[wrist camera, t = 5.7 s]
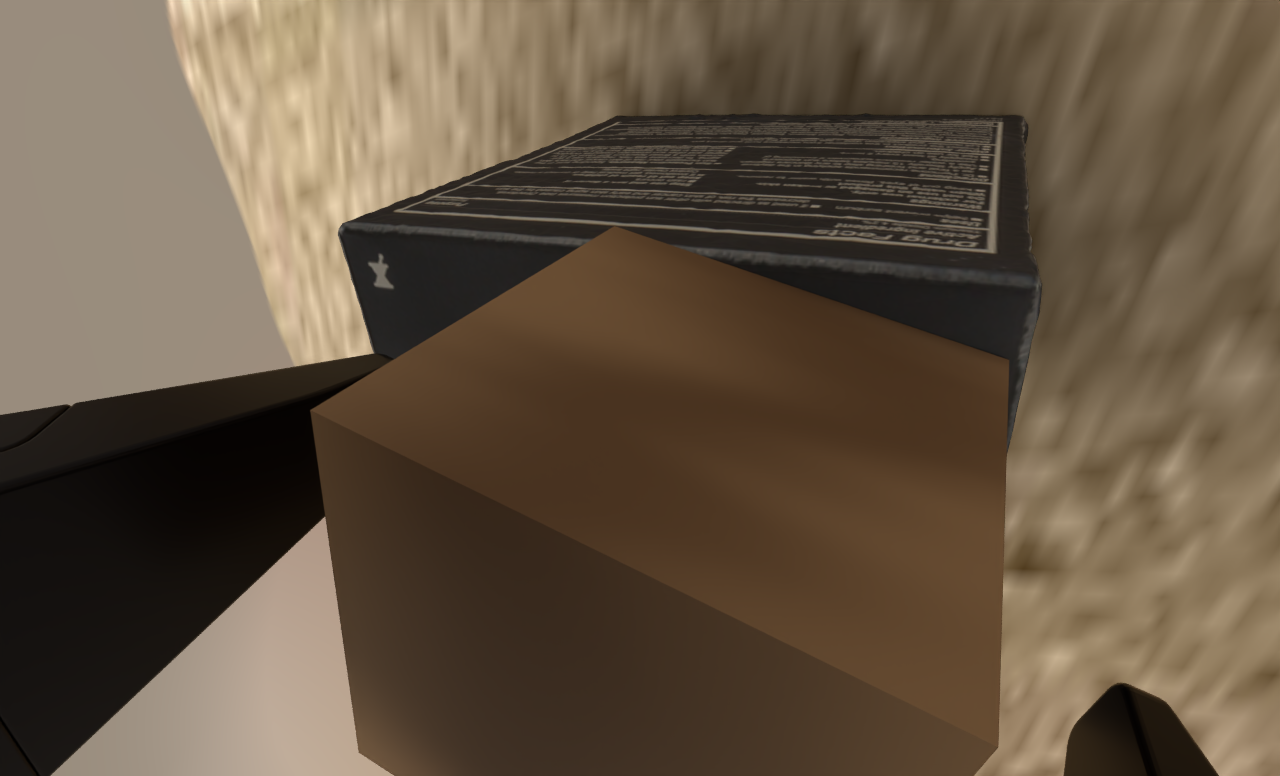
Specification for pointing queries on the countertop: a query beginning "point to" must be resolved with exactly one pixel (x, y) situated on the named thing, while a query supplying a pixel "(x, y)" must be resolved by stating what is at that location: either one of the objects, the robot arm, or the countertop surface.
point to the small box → (735, 221)
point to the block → (670, 532)
